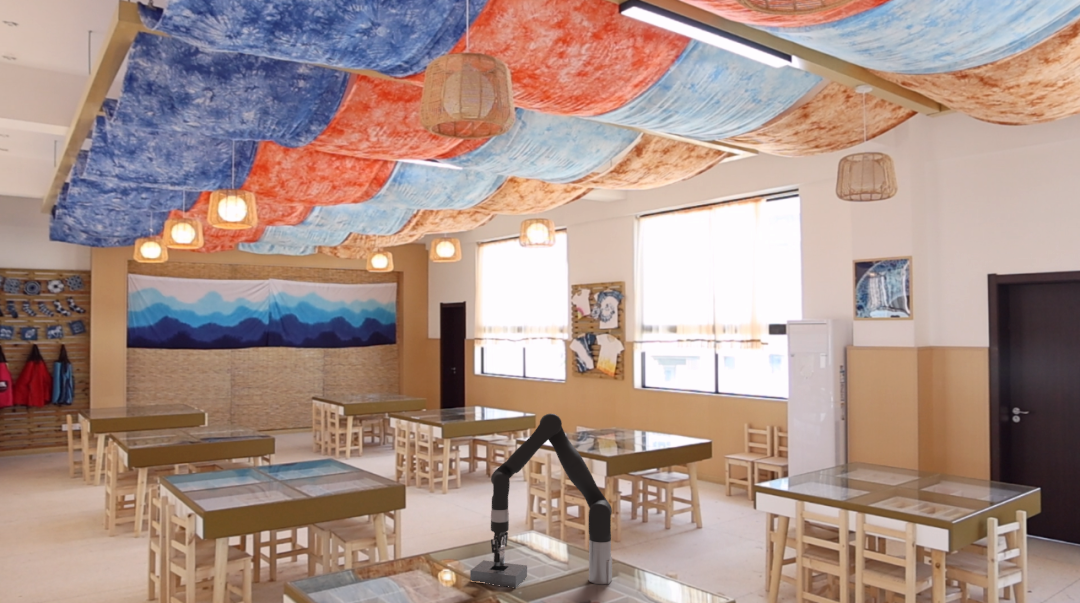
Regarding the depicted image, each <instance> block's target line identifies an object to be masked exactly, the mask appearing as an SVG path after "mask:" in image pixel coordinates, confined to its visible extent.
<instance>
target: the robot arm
mask: <svg viewBox="0 0 1080 603" xmlns="http://www.w3.org/2000/svg"><path fill="white" fill-rule="evenodd" d="M562 423H563V422H562V419H561V418H560V416H558V415H557V414H555V413H546V414H544V415H543V416H542V417H541V419H540V421H539V424H538V425H537V427H536V429H535V430H534V432H533V433H532V434H531V435H530V436H529V437H528V438H527V439H526V440H525V441H524V442H523V443H522V444H521V445H520V446H519V447H518V448H516V449H515V451H514V452H513V453H512V454H511V455H510V456H509V458H507V459H506V461H505V462H503V463H502V464H501V465H499V466H498V467H497V469H495V470H494V472H493V473H492V474H491V477H490V481H491V484H492V487H493V488H492V490H493V492H492V493H493V494H492V496H491V510H490V512H491V513H490V531H491V532H492V533H494V535H493V539H490V544H491V553H493V562H500V548H501V547H502V544H505V548H506V547H507V546H508V537H509V536H508V535H509V532H508V531H509V527H510V526H509V525H510V524H509V522H510V517H509V515H510V513H509V512H510V511H509V494H510V486H511V485H510V482H511V480H510V478H512V477H513V476H514V475H515V474H518V473H519V472H520V471H521V470H522V469H523V468H524V467H525V466H526V465H527V463H528V462H529V461H530V460H531V459H532V458H533V456H534V455H535V454H536V453H537V451H538V450H539V449H540V448H541V447H542V446H543V445H545V443H546V442H548V441H549V444H551V446H552V447H553V449H554V451H555V454H556V456H557V459H558V461H559V463H560V465H561V466H562V468H563V470H564V472H565V474H566V475H567V478H568V479H569V480H570V482H571V484H573V485H574V486H575V487H576V489H577V490H578V491H579V492H580V493H581V494H582V496H583V497H584V499H585V501H586V503H587V506H588V507H589V510H588V536H589V537H588V541H589V542H588V545H589V546H588V553H589V554H588V582H590V583H592V584H595V585H610V583H611V581H613V556H612V530H611V528H612V522H611V521H612V519H611V518H612V514H613V512H612V511H613V509H612V506H611V504H610V503H609V501H608V499H607V498H606V497H605V495H604V494H603V493H602V491H601V490H600V489H599V486H598V485H597V483H596V481H595V478H594V477H593V475H592V473H591V471H590V469H589V468H588V466H587V464H586V462H585V460H584V459H583V457H582V456H581V454H580V452H579V451H578V450H577V449H576V447H575V446H574V444H572V442H571V441H570V440H569V438H568V436H567V435H566V432H565V430H564V428H563V426H562ZM498 545H499V546H498Z"/></svg>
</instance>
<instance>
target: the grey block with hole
mask: <svg viewBox="0 0 1080 603" xmlns="http://www.w3.org/2000/svg"><path fill="white" fill-rule="evenodd" d="M469 577H470V579H469V580H472V581H480V582H485V583H490V584H494V585H500V586H499V587H501V586H509V587H514V588H513V589H517V588H518V587H519V586H520V585H521V584H522V583H523V582H524V581H525V580H526V579H527V578H526V577H528V565H524V564H518V563H510V562H509V563H508V562H505V565H503V566H495V565H494V560H491V561H490V560H482V561H481V562H479V563H478V564H477V565H476V566H474V567H473V568H472V569H470V575H469ZM525 578H526V579H525ZM524 579H525V580H524ZM523 580H524V581H523ZM522 581H523V582H522ZM521 582H522V583H521ZM520 583H521V584H520ZM519 584H520V585H519ZM518 585H519V586H518ZM517 586H518V587H517ZM509 587H508V588H509ZM516 587H517V588H516Z"/></svg>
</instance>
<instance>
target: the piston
mask: <svg viewBox="0 0 1080 603" xmlns="http://www.w3.org/2000/svg"><path fill="white" fill-rule="evenodd" d="M498 546H499V545H498ZM493 562H494V561H493ZM505 563H506V547H505V544H502V547H501V548H500V562H494V565H495V566H503V565H505Z"/></svg>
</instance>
